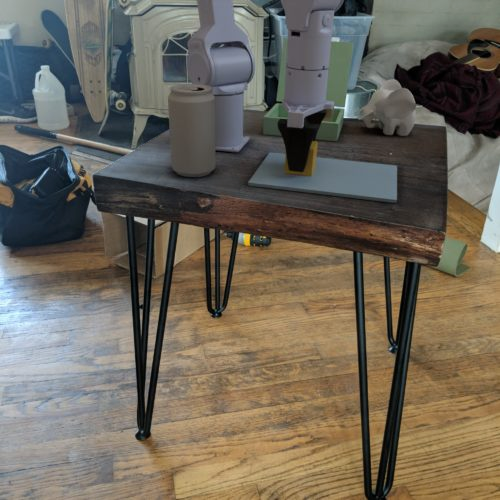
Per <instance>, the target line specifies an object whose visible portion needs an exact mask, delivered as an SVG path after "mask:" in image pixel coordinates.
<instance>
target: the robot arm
mask: <svg viewBox="0 0 500 500" xmlns="http://www.w3.org/2000/svg"><path fill="white" fill-rule="evenodd" d="M344 2H345V0H280V3H281V7H282V9H283V11H284V14H285V15H284V18H285V19H284V25H286V29H287V39H288V40H287V57H286V73H285V91H284V99H283V100H282V102H281V104H282V105H283V107H284V109H285V110H286V112H287V113H288V119H279V121H278V129H279V131H280V133H281V135H282V136H281V138H282V141H283V144H284V149H285V154H286V155H287V163H288V168H289V171H296V172H303V171H304V169H305V167H306V163H307V160H308V155H309V151H310V147H311V144H312V141H316V140H317V139H316V136H317V132H318V130H319V128H320V126H321V122H322V121H323V119H324V117H325V116H326V114H327V110H326V109H333V107H334V108H335V106H334V102H333V101H327V100H326V91H327V81H328V71H329V61H330V50H331V41H333V40H332V39H333V38H332V37H333V30H334V29H333V28H334V17H335V13H336V12H337V11H338V10H340V8H341V6H342V5H343V3H344ZM196 5H197V11H198V20H199V28H198V29H197V30H196V32H195V33H193V35H192V36H191V37H190V38H189V39H188V41H187V49H188V53H187V54H188V57H187V63H186V71H187V76H188V79H189V81H190V84H200V85H207V86H210V87H211V88H212V91H211V92H212V94H213V95H214V97H215V151H219V152H228V153H229V152H230V153H239V152H240V151H241V150H242V148H244V146H245V145H246V144H247V143H248V142H249V141H250V136H246V135H245V136H244V103H245V102H244V100H245V97H244V96H245V91H248V84H250V83H251V82H252V80H253V78H254V76H255V72H256V60H255V56H254V54H253V52H252V50H251V46H250V42H249V36H248V34H247V33H246V32H245V31H244V30H243V29H242V28H240V26H238V24H237V23H236V20H235V19H236V18H235V11H234V2H233V0H196ZM216 45H224V46H216ZM212 46H214V47H212ZM215 46H216V47H215Z"/></svg>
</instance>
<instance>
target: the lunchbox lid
mask: <svg viewBox="0 0 500 500" xmlns="http://www.w3.org/2000/svg"><path fill="white" fill-rule="evenodd" d="M287 40H288V38H283V41H282V42H283V43H282V51H281V59H280V67H279V76H278V84H277V92H276V102H277V103H282V100H283V99H284V91H285V73H286V57H287ZM354 45H355V43H354V42H351V41H336V40H335V41H334V40H331V50H330V61H329V71H328V81H327V91H326V100H327V101H333V102H334V107H335V108H346V104H347V103H346V102H347V96H348V88H349V81H350V75H351V74H350V73H351V66H352V60H353V59H352V58H353V51H354Z"/></svg>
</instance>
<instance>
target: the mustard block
mask: <svg viewBox="0 0 500 500" xmlns="http://www.w3.org/2000/svg"><path fill="white" fill-rule="evenodd" d="M318 144H319V142H318V141H317V140H315V141H312V144H311V147H310V151H309V155H308V160H307V163H306V167H305V169H304V171H303V172H296V171H289V168H288V163H287V155H285V171H284V173H286V174H295V175H304V176H312V174H313V172H314V170H315V167H316V157H318V156H317V155H318V146H319V145H318Z"/></svg>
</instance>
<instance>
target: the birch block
mask: <svg viewBox="0 0 500 500" xmlns="http://www.w3.org/2000/svg"><path fill="white" fill-rule="evenodd" d="M334 108H335V106H334V107H333V109H326V110H327V114H326V116H325V117H324V119H323V121H326V122H333V114H334Z"/></svg>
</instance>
